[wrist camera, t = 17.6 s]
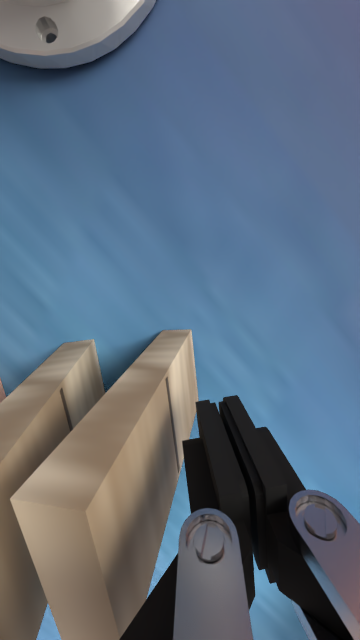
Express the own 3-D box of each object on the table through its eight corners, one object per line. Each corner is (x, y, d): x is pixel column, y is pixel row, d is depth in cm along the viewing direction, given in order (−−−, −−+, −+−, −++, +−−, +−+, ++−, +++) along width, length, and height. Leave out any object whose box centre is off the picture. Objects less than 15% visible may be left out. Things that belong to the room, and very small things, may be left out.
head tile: (171, 401, 17) (64, 646, 7) (162, 330, 16) (8, 499, 5) (199, 402, 16) (128, 667, 6) (191, 329, 15) (86, 511, 5)
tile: (80, 414, 16) (-59, 702, 6) (63, 343, 15) (-156, 549, 5) (109, 410, 17) (21, 687, 6) (94, 339, 15) (-52, 532, 5)
